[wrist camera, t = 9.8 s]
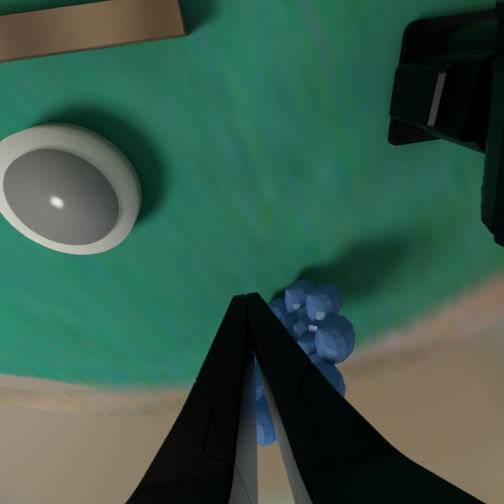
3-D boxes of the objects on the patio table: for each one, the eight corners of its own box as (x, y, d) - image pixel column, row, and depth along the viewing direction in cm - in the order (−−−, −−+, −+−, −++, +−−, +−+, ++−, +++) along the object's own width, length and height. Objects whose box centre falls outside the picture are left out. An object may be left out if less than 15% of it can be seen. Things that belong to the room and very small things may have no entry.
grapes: (270, 349, 31) (296, 486, 21) (219, 326, 28) (221, 474, 18) (352, 281, 26) (434, 415, 16) (301, 245, 23) (364, 383, 14)
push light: (115, 112, 16) (101, 120, 15) (157, 229, 21) (151, 247, 19) (-23, 133, 16) (-56, 143, 14) (50, 246, 21) (33, 266, 19)
